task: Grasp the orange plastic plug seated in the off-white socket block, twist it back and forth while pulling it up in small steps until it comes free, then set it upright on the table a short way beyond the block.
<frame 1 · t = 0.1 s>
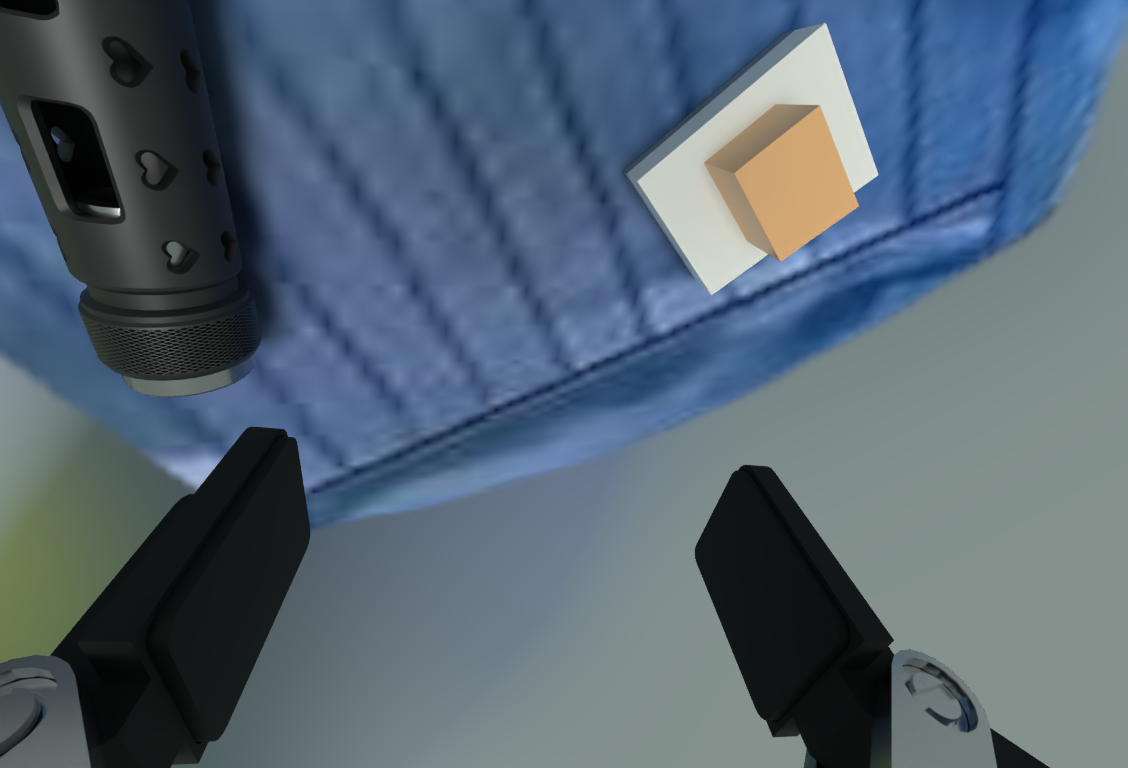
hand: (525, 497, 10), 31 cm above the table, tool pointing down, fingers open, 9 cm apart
muzzle brake: (191, 161, 33), on the table
socket block: (731, 168, 36), on the table
plug: (740, 171, 35), point 2 cm above the table, touching socket block
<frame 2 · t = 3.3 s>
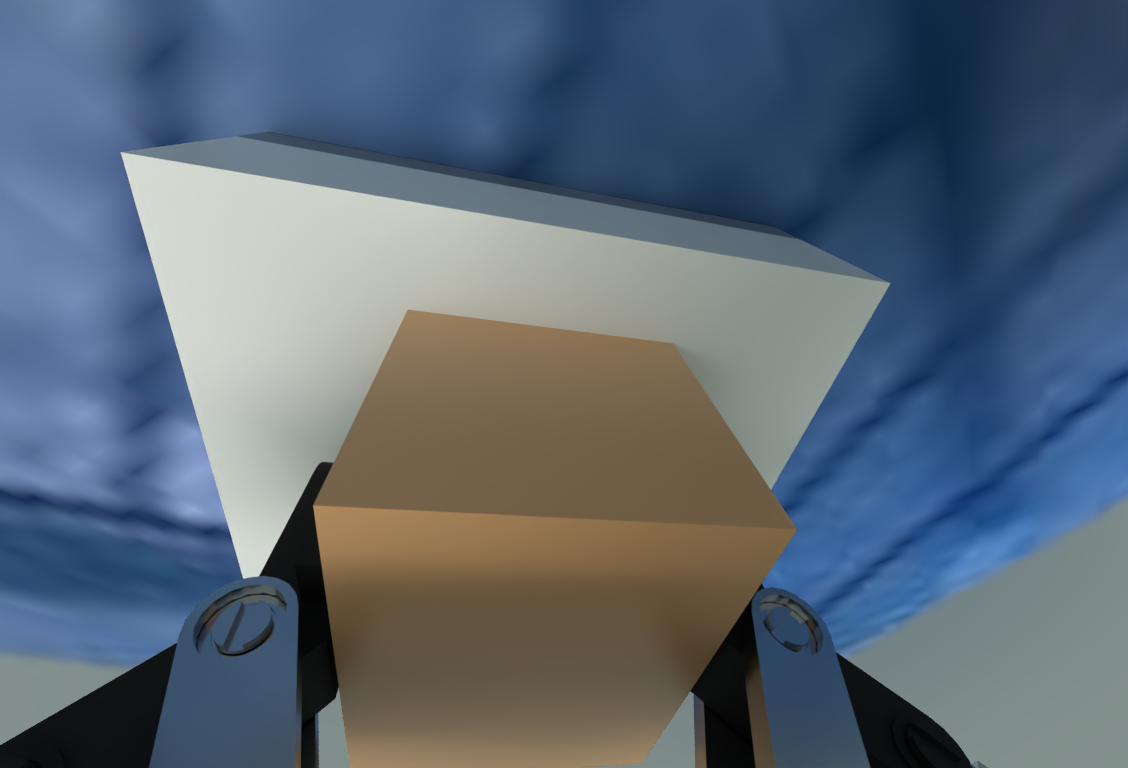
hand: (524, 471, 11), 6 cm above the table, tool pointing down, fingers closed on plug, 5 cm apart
socket block: (519, 358, 15), on the table
plug: (521, 384, 14), point 2 cm above the table, touching gripper, socket block
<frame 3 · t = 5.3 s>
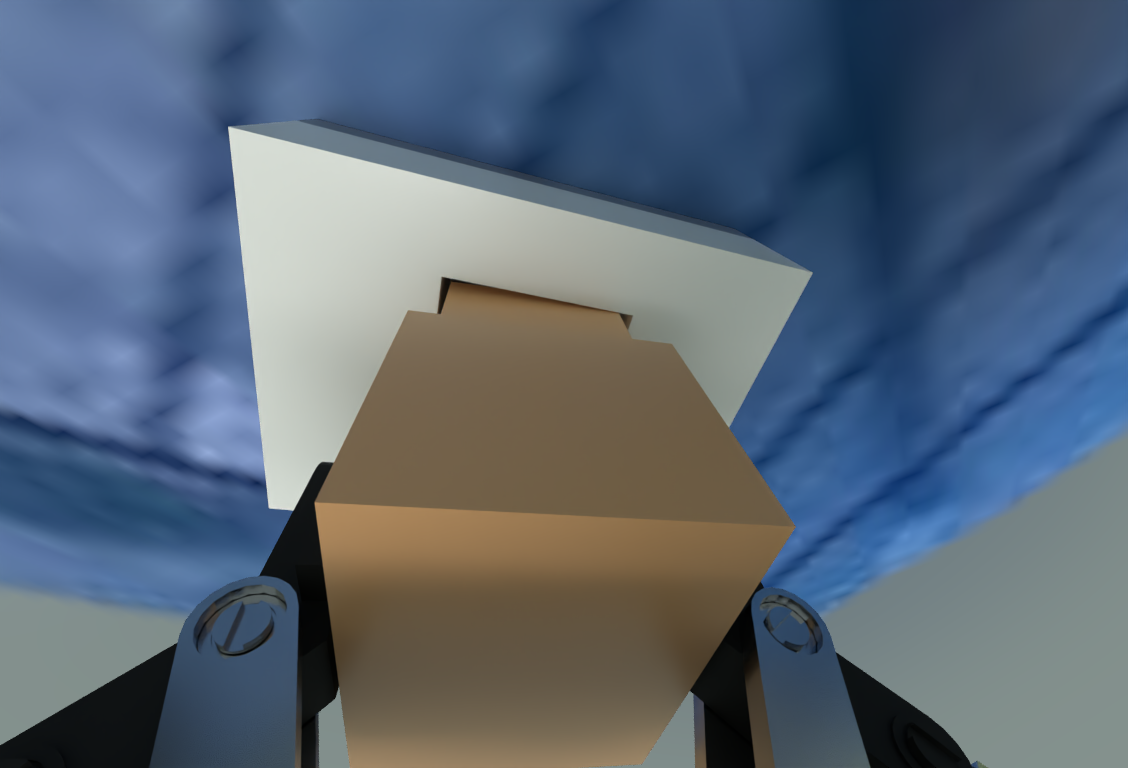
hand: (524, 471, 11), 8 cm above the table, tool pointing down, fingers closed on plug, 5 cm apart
socket block: (514, 329, 18), on the table
plug: (520, 385, 14), point 4 cm above the table, touching gripper
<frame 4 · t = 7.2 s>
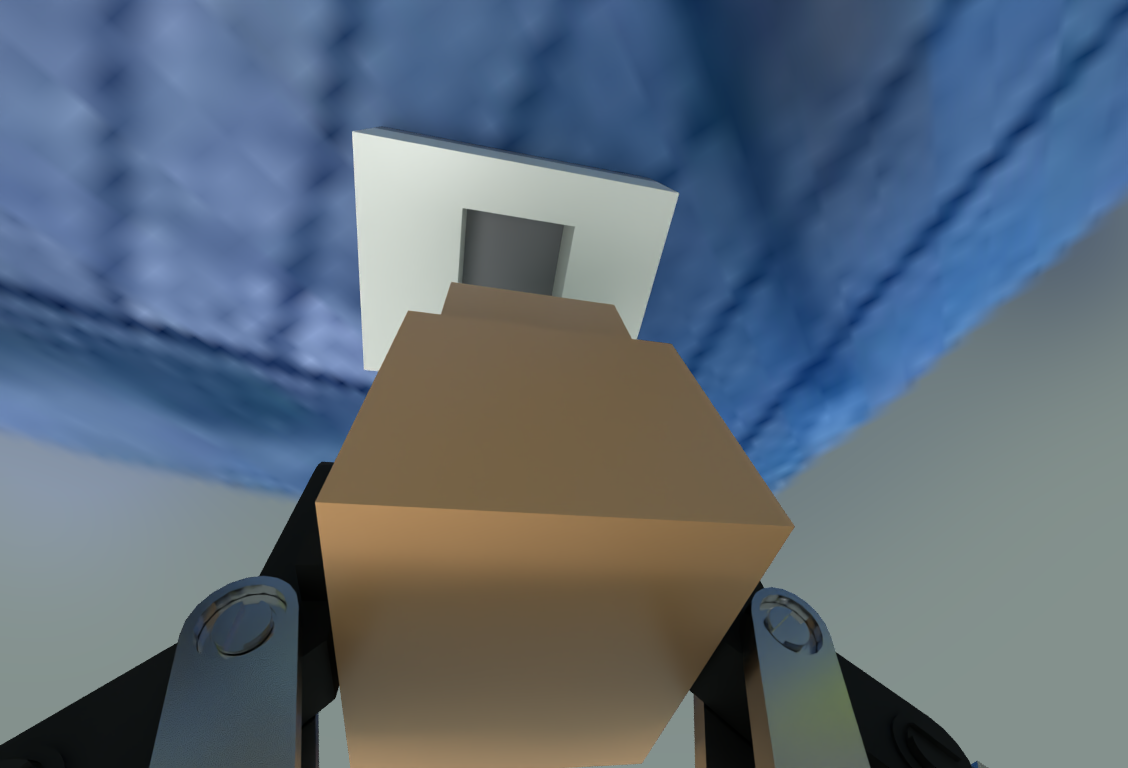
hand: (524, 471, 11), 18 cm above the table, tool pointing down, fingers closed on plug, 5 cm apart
socket block: (510, 257, 26), on the table
plug: (520, 386, 14), point 15 cm above the table, touching gripper
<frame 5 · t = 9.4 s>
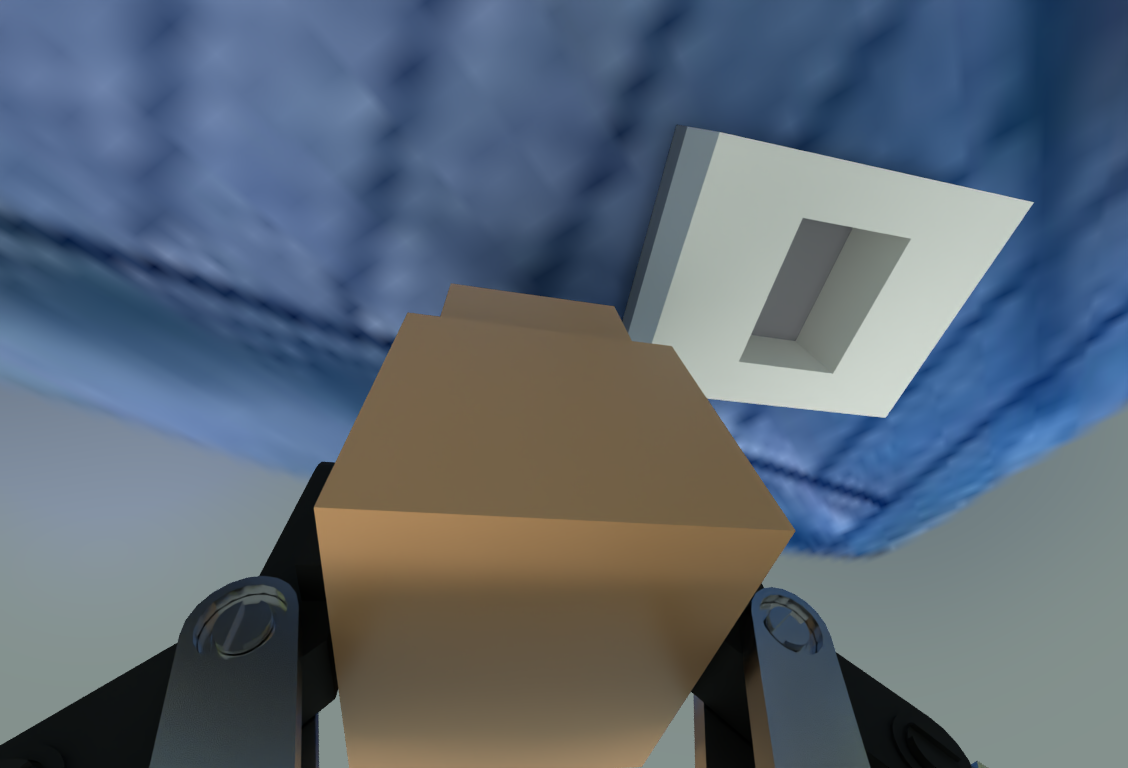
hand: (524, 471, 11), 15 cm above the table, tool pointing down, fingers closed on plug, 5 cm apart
socket block: (766, 268, 24), on the table
plug: (520, 387, 14), point 11 cm above the table, touching gripper
when the fingers open (5 cm above the table, at t = 11.4 s): plug drops 2 cm, on the table.
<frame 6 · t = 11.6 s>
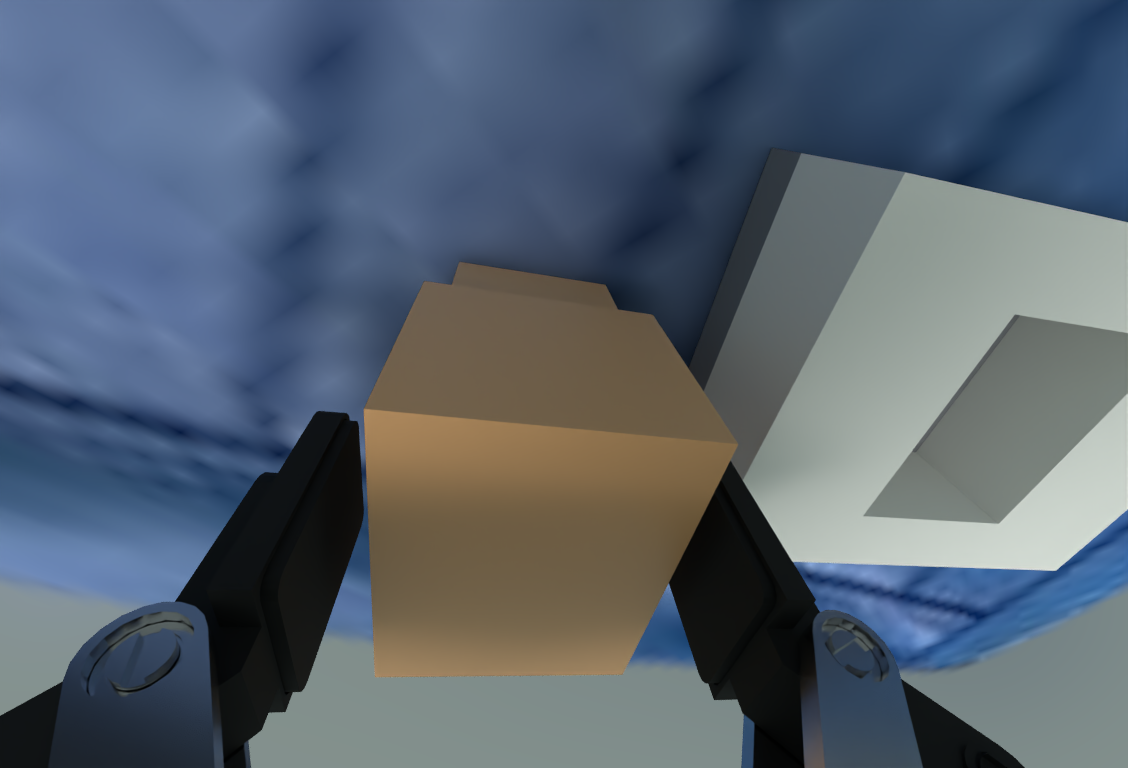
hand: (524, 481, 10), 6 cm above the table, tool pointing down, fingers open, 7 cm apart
socket block: (879, 351, 17), on the table
plug: (520, 359, 15), on the table
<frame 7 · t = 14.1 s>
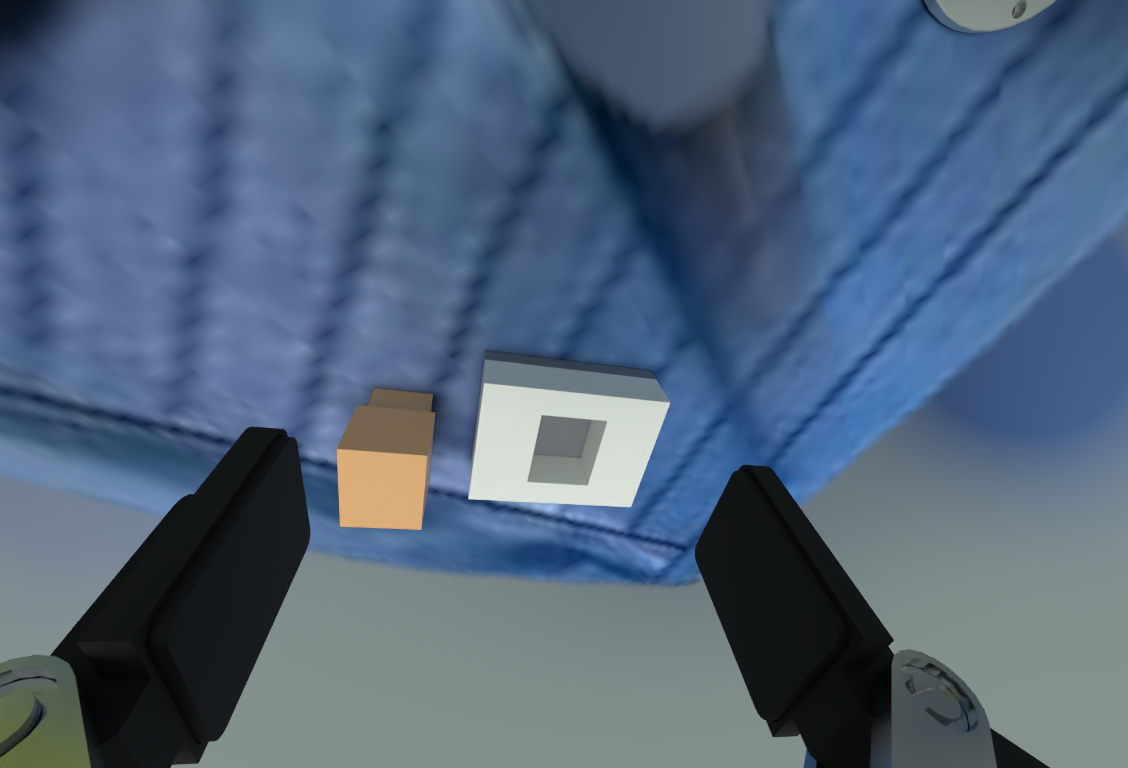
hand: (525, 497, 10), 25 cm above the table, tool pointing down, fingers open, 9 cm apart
socket block: (558, 415, 40), on the table
plug: (402, 421, 38), on the table
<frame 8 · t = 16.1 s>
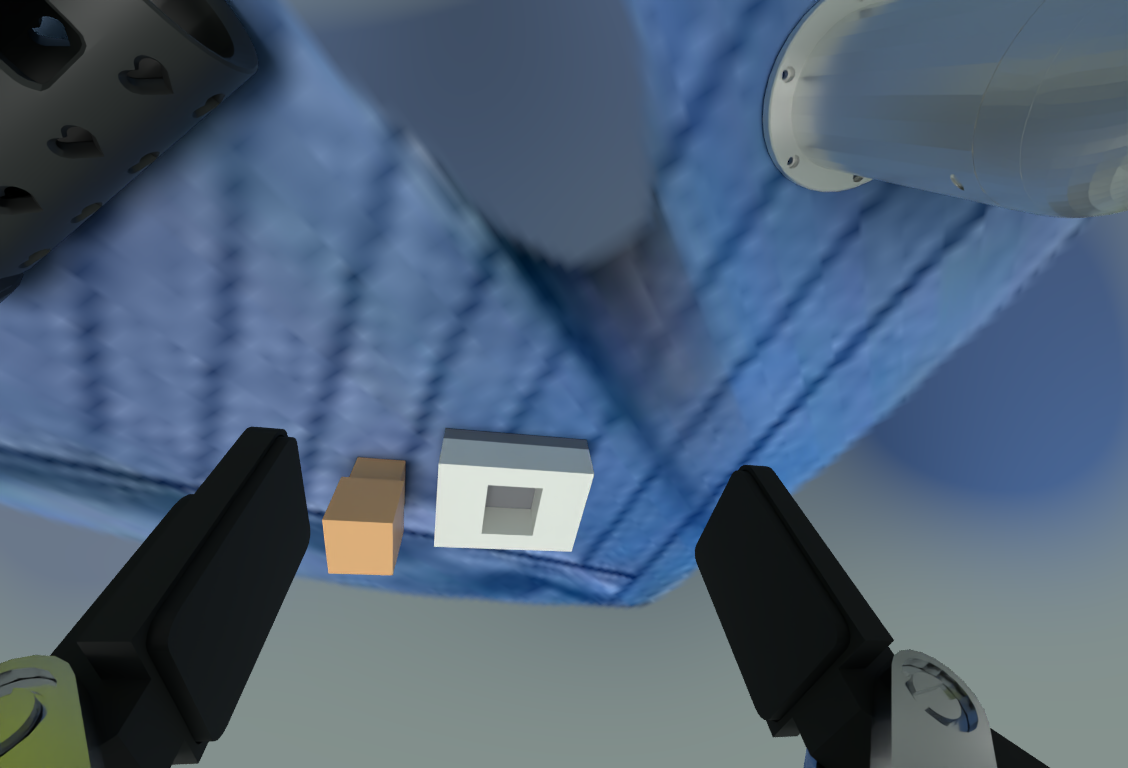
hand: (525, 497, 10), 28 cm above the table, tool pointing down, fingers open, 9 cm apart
muzzle brake: (78, 139, 29), on the table
socket block: (511, 475, 47), on the table
plug: (382, 481, 46), on the table
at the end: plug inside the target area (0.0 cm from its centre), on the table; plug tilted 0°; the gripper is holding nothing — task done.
